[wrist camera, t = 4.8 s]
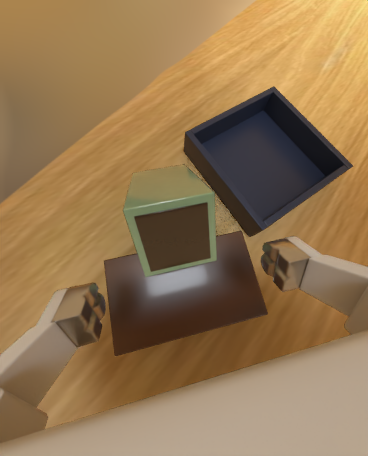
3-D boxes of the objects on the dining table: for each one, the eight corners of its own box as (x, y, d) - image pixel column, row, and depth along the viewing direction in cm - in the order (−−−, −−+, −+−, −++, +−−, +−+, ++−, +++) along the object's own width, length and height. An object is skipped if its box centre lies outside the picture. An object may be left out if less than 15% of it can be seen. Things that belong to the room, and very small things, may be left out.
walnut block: (247, 305, 18) (268, 314, 14) (129, 336, 17) (114, 357, 12) (227, 239, 19) (241, 230, 15) (119, 263, 18) (103, 260, 14)
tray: (262, 109, 25) (274, 86, 22) (329, 180, 22) (353, 165, 19) (183, 151, 22) (184, 132, 19) (249, 237, 20) (262, 230, 17)
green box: (203, 264, 19) (233, 255, 9) (155, 275, 18) (132, 278, 8) (182, 182, 21) (189, 105, 11) (139, 190, 20) (108, 116, 11)
